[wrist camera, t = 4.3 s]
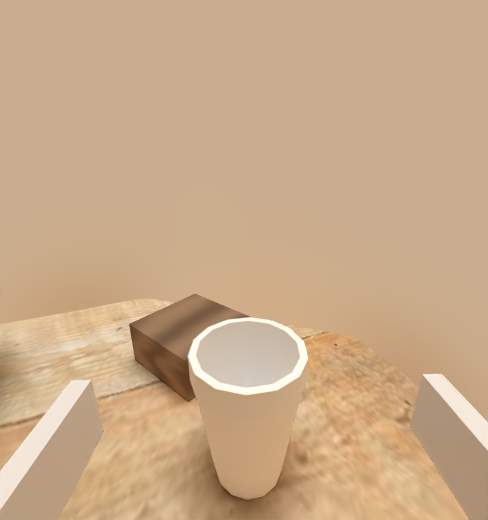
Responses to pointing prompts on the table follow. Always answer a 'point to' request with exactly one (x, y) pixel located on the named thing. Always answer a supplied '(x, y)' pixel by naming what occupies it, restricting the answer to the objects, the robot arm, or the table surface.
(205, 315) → the walnut block
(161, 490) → the table surface
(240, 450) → the foam cup
